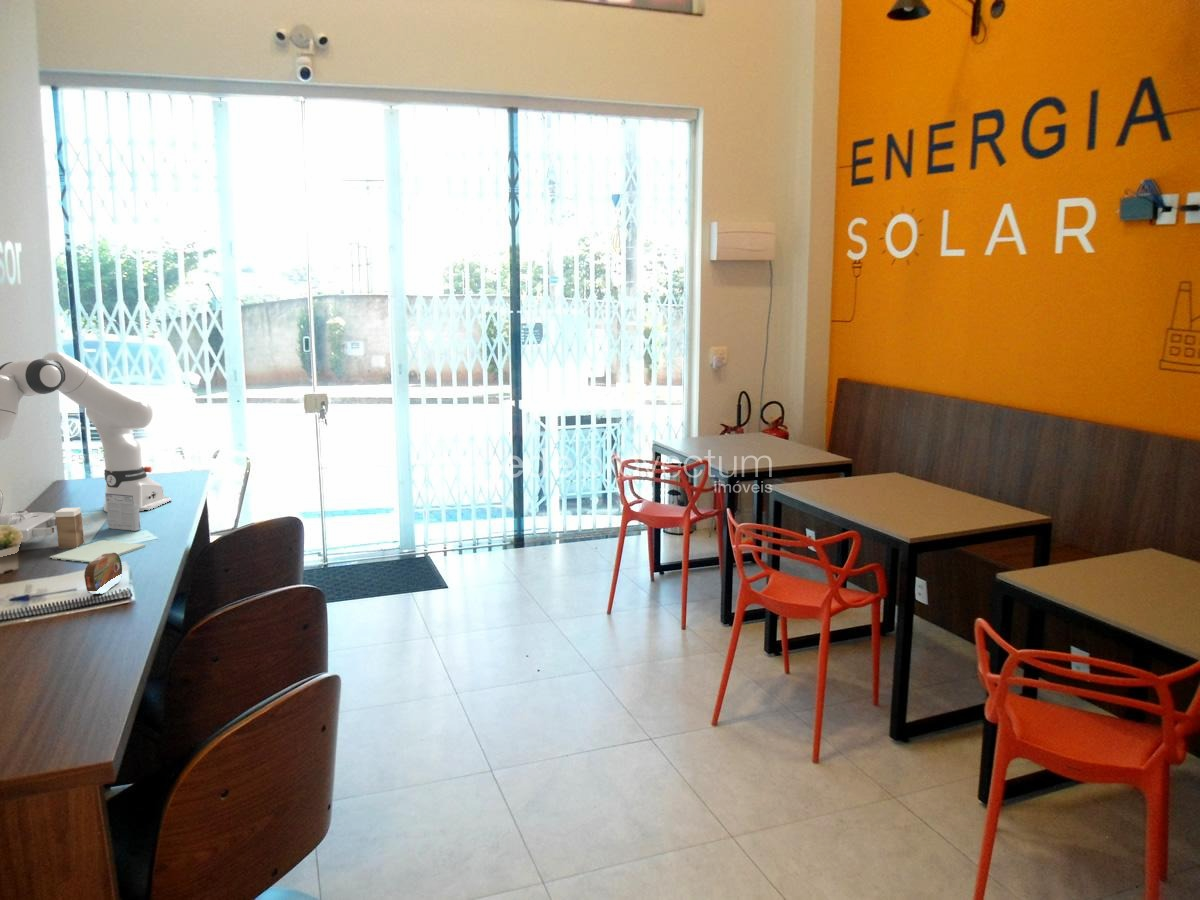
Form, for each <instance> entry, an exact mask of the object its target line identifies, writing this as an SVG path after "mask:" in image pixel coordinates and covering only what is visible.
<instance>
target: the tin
mask: <svg viewBox="0 0 1200 900" xmlns="http://www.w3.org/2000/svg"><path fill="white" fill-rule="evenodd" d="M84 570H85V571H84V575H83V576H84V582H85V587H86V591H87V592H88V591H97V590H98V589H99V588H100V587H102V586H103V585H104V584H106V583H107V582H108V581H110V580H111V579H113V578H115V577H116V576H118V575H120V574H122V573H123V563H122V560H121V557H120V556H119V555H118V554H117V553H107V554H103V555H101V556H100V557H98V558H97V559H95V560H94V561H92V562H91V563H87V565H86V568H85V569H84Z"/></svg>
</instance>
